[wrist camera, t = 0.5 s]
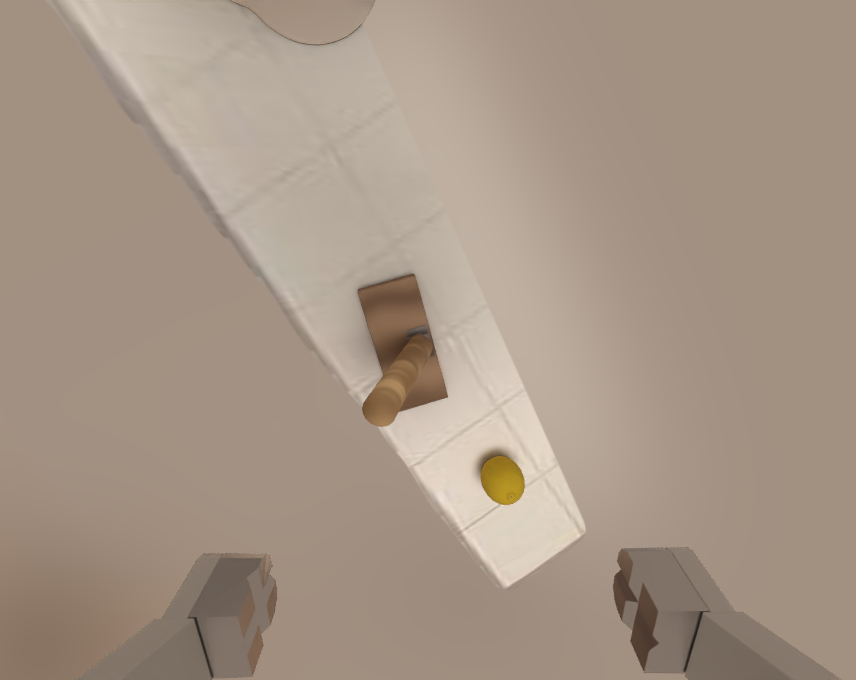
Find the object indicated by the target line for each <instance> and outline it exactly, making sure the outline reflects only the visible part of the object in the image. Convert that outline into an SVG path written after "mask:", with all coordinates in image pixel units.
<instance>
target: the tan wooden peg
mask: <svg viewBox="0 0 856 680" xmlns="http://www.w3.org/2000/svg"><path fill="white" fill-rule="evenodd" d="M406 341H407V344H406V346H405V347H404V348H403V350H402V351H401V352H400V354H399V355H398V357H397V358H396V359H395V361H394V362H393V363H392V365H391V366H390V367H389V369H388V370H387V372H386V373H385V374H384V376H383V377H382V378H381V380H380V381H379V382H378V384H377V385H376V387H375V388H374V389H373V391H372V392H371V393H370V395H369V396H368V397H367V399H366V400H365V402H364V403H363V407H362V410H363V414H364V416H365V418H366V419H367V420H368V421H369V422H370V423H371V424H373V425H375V426H380V427H383V426H388V425H390V424H391V423H392V422H393V421H394V419H395V417H396V415H397V414H398V412H399V410H400V408H401V406H402V405H403V403H404V401H405V399H406V397H407V396H408V394H409V392H410V390H411V388H412V387H413V385H414V383H415V381H416V379H417V378H418V376H419V374H420V372H421V370H422V369H423V367H424V365H425V363H426V361H427V360H428V358H429V357H432V356H434V355H435V352H434V348H433V344H432V341H431V337H430V334H429V333H424V334H423V333H422V332H417V333H415V334H414V335H413V336H408V337H406Z"/></svg>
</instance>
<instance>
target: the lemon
mask: <svg viewBox="0 0 856 680" xmlns="http://www.w3.org/2000/svg"><path fill="white" fill-rule="evenodd" d="M481 482H482V486H483V488H484V490H485V492H486V493H487V495H488V496H489V497H490V498H491V499H492V500H493V501H495V502H497V503H499V504H503V505H509V504H513V503H515V502H516V501H518V500H519V499H520V498H521V496H522V494H523V492H524V487H525V484H524V477H523V474H522V471H521V469H520V468H519V467H518V465H517V464H516V463H515V462H514V461H512V460H511V459H509V458H507V457H503V456H497V457H493V458H491V459H489V460H488V461H487V462H486V463H485V464H484V466H483V468H482V471H481Z"/></svg>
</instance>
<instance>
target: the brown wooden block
mask: <svg viewBox="0 0 856 680" xmlns="http://www.w3.org/2000/svg"><path fill="white" fill-rule="evenodd" d="M358 295H359V298H360V302H361V305H362V308H363V311H364V314H365V318H366V321H367V324H368V327H369V330H370V334H371V337H372V340H373V343H374V346H375V350H376V353H377V356H378V359H379V362H380V366H381V369H382V372H383V375H384V374H385V373H386V372H387V370H388V369H389V367H390V366H391V365H392V363H393V362H394V361H395V359H396V358H397V357H398V355H399V354H400V352H401V351H402V350H403V348H404V347H405V346H406V344H407V341H406V337H408V336H413V335H414V334H415V333H417V332H422V333H423V334H424V333H429V334H430V337H431V341H432V344H433V340H432V336H431V332H430V329H429V325H428V321H427V318H426V314H425V310H424V307H423V303H422V299H421V296H420V292H419V288H418V285H417V281H416V277H415V275H414V274H411V275H407V276H404V277H400V278H397V279H393V280H390V281H386V282H382V283H379V284H375V285H372V286H368V287H365V288H361V289H358ZM433 348H434V352H435V355H434V356H432V357H429V358H428V360H427V361H426V363H425V365H424V367H423V369H422V370H421V372H420V374H419V376H418V378H417V379H416V381H415V383H414V385H413V387H412V388H411V390H410V392H409V394H408V396H407V397H406V399H405V401H404V403H403V405H402V406H401V408H400V410H399V412H400V411H404V410H407V409H410V408H414V407H417V406H420V405H424V404H427V403H430V402H434V401H437V400H440V399H444V398H447V397H448V395H447V391H446V388H445V384H444V380H443V377H442V373H441V369H440V366H439V362H438V358H437V355H436V351H435V347H434V344H433Z"/></svg>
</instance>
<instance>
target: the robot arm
mask: <svg viewBox="0 0 856 680" xmlns="http://www.w3.org/2000/svg"><path fill="white" fill-rule="evenodd" d="M231 1H233V2H235V3H238V4H240V5H243V6H245V7H248V8H249V9H250V10H252V11H253V12H254V13H255V14H256V15H257V16H258V17H259V18H260V19H262V20H263V21H264V22H265V23H266V24H267V25H268V26H269V27H270V28H272V29H273V30H274V31H276V32H277V33H279V34H281V35H283V36H284V37H286V38H289V39H291V40H294V41H297V42H300V43H305V44H327V43H331V42H335V41H337V40H340V39H342V38H344V37H346V36H348V35H349V34H351V33H352V32H353V31H354V30H356V29H357V28H358V27H359V26H360V25H361V24H362V22H363V21H364V20H365V19H366V17H367V16H368V14H369V12H370V11H371V9H372V7H373V4H374V2H375V0H231ZM617 562H618V564H619V566H620V568H621V570H620V571H619V572H618V573H617V574H616V575H615V576H614V584H613V590H614V600H615V603H616V607H617V610H618V613H619V615H620V618H621V620H622V622H623V623H625V624H626V625H627V626H628V627H629V628H630V629H631V630H632V635H631V640H630V641H631V644H632V646H633V648H634V651H635V653H636V655H637V657H638V660H639V662H640V665H641V667H642V669H643V671H644V673H685V677H687V679H688V680H841V679H840V678H838V677H837V676H835V675H834V674H833V673H831V672H830V671H828V670H827V669H825V668H824V667H822V666H821V665H819V664H818V663H816V662H815V661H813V660H812V659H811V658H809V657H808V656H806V655H805V654H803V653H802V652H800V651H799V650H798V649H796V648H794V647H793V646H792V645H790V644H789V643H787V642H786V641H784V640H783V639H781V638H780V637H778V636H777V635H775V634H774V633H773V632H771V631H770V630H768V629H767V628H765V627H764V626H762V625H761V624H760V623H758V622H756V621H755V620H753V619H752V618H751V617H749V616H748V615H746V614H745V613H744V612H736V611H735V610H734V609H733V607H732V606H731V605H730V603H729V601H728V600H727V599H726V597H725V596H724V594H723V593H722V592H721V590H720V589H719V587H718V586H717V584H716V583H715V582H714V580H713V579H712V577H711V576H710V574H709V573H708V572H707V570H706V569H705V567H704V566H703V564H702V563H701V562H700V560H699V559H698V557H697V556H696V554H695V553H694V552H693V550H691V549H690V548H688V547H680V548H679V547H673V548H625V549H621V550H620V552H619V555H618V559H617ZM272 566H273V565H272V561H271V557H270V555H268V554H246V553H225V554H218V553H217V554H216V553H204V554H203V555H201V556H200V557H199V558H198V559H197V560H196V562H195V564H194V565H193V567H192V569H191V571H190V572H189V574H188V575H187V577H186V579H185V581H184V582H183V584H182V586H181V587H180V589H179V590H178V592H177V594H176V596H175V597H174V599H173V601H172V602H171V604H170V606H169V607H168V609H167V611H166V612H165V614H164V616H163V617H162V619H154V620H153V621H152V622H150V623H149V624H148V625H146V626H145V627H144V628H142V629H141V630H140V631H138V632H137V633H136V634H135V635H133V636H132V637H131V638H129V639H128V640H127V641H125V642H124V643H123V644H121V645H120V646H119V647H117V648H116V649H115V650H113V651H112V652H111V653H110V654H108V655H107V656H106V657H104V658H103V659H102V660H100V661H99V662H98V663H96V664H95V665H94V666H92V667H91V668H90V669H89V670H87V671H86V672H85V673H83V674H82V675H81V676H79V677H78V678H77V679H75V680H212V679H214V678H237V677H252V676H253V674H254V671H255V668H256V665H257V662H258V659H259V657H260V654H261V651H262V648H263V641H262V636H261V634H262V633H263V632H264V631H265V630H266V629H267V628H268V627H269V626H270V625H271V622H272V619H273V616H274V613H275V606H276V601H277V587H276V580H275V579H274V578H273V577H272V576H271V575H269V574H270V571H271V568H272Z"/></svg>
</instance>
